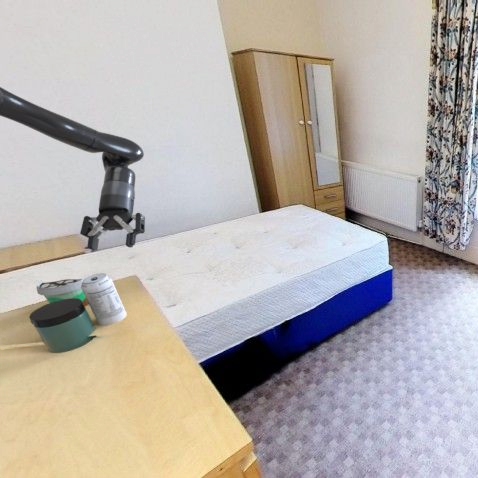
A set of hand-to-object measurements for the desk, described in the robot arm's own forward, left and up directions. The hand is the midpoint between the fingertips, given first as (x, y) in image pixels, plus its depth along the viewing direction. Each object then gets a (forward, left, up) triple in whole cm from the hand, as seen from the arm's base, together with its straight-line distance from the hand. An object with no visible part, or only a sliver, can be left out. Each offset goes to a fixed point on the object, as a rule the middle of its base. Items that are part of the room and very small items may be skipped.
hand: (111, 248), depth 93 cm
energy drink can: (+1, -11, -19) cm, 22 cm away
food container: (-14, -3, -19) cm, 24 cm away
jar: (-5, -17, -19) cm, 26 cm away
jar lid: (-5, -17, -9) cm, 20 cm away
